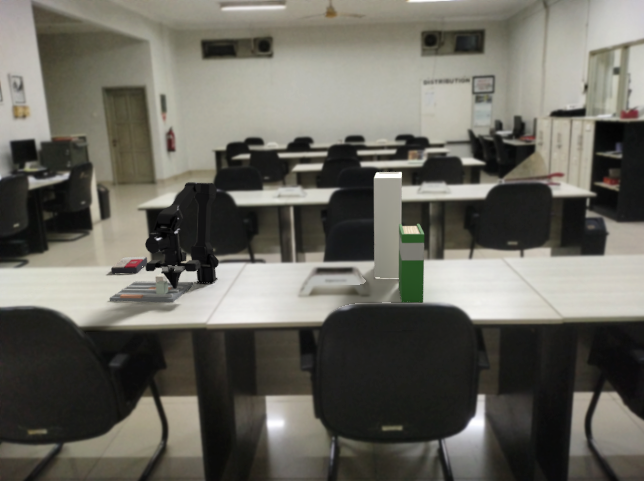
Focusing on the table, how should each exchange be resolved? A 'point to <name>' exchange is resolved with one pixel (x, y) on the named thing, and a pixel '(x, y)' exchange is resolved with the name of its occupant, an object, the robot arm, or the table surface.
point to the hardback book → (411, 263)
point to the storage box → (387, 223)
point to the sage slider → (162, 287)
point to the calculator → (129, 265)
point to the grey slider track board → (150, 292)
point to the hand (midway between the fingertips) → (175, 288)
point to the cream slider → (160, 278)
